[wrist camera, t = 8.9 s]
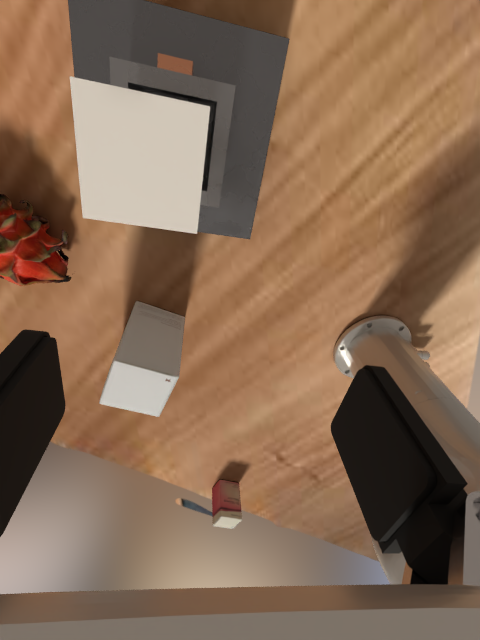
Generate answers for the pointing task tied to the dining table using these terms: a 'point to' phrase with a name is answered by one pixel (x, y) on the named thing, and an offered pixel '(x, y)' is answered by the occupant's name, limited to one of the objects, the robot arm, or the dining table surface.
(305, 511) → the dining table surface
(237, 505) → the small box
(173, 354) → the supplement box
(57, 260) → the dragon fruit
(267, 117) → the stand
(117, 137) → the post
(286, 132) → the dining table surface
